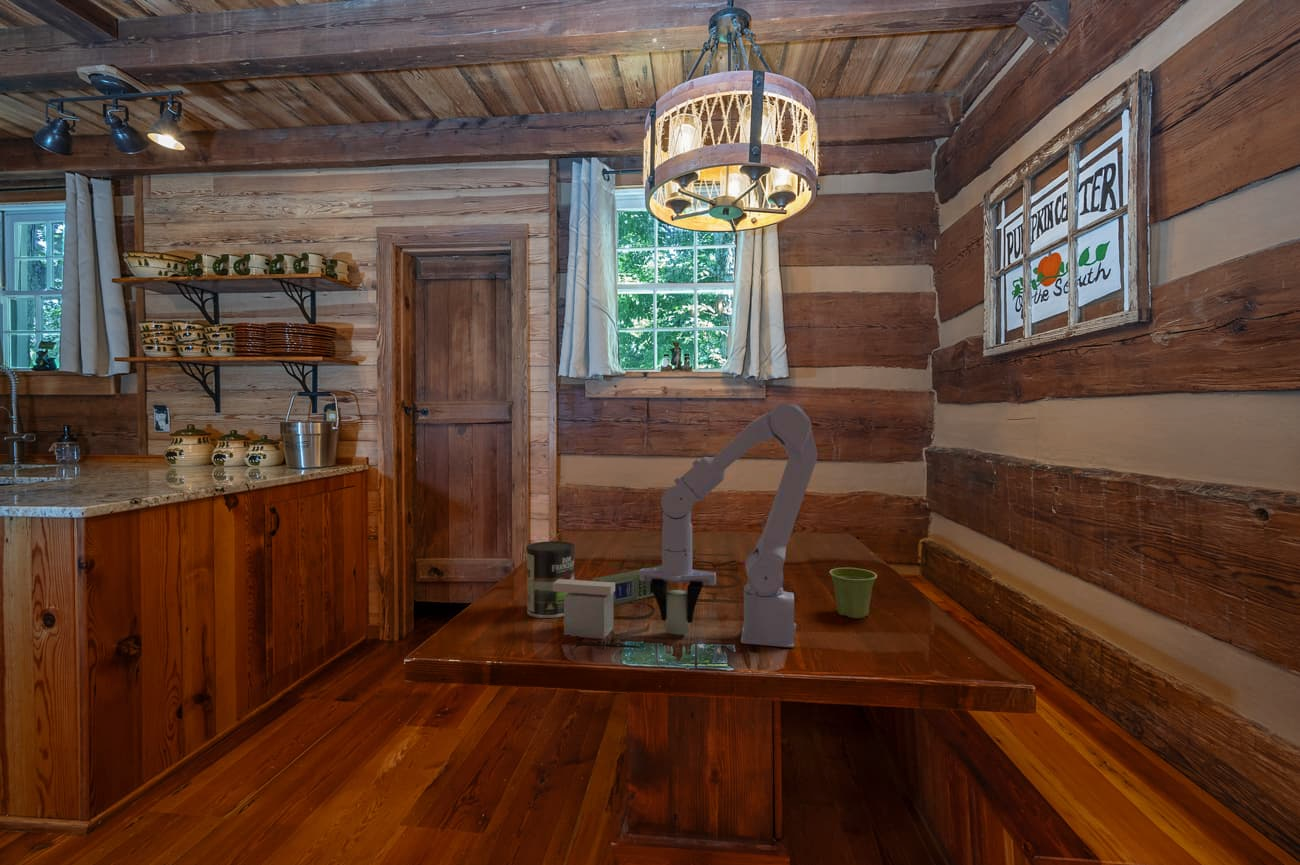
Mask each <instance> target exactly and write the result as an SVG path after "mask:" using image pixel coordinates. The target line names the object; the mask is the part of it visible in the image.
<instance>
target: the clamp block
mask: <svg viewBox="0 0 1300 865" xmlns="http://www.w3.org/2000/svg"><path fill="white" fill-rule="evenodd" d="M614 627H615V626H614V606H613V594H612V595H598V594H584V593H567V594H566V595H565V596H564V616H563V636H565V635H570V636H569V637H576V636H579V637H578V638H589V639H590V638H591V639H601V640H605V639H606V637H607V636H608V635H609V634H610V633H611V631H613V629H614Z"/></svg>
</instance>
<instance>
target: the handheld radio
mask: <svg viewBox="0 0 1300 865" xmlns="http://www.w3.org/2000/svg"><path fill="white" fill-rule="evenodd" d="M652 568H662V565H656V566H651V567H647V568H645V569H652ZM641 569H642V568H640V569H636V570H630V571H627V572H620V573H615V574H610V575H605V576H600V577H595V578H591V581H598V582H614V583H615V592H614V593H613V607H614V606H619V605H623V604H627V602H628V603H632V602H635V600H636V601H639V599H641V600H644V599H643V598H645V599H648V597H649V598H652V596H653V597H655V596H654V594H653V592H652V590H651V587H650V585H651V582H652V580H645V581H639V571H640V570H641ZM668 586H669V585H668ZM668 586H667V592H668V591H669V589H668V588H669V587H668ZM631 601H632V602H631Z"/></svg>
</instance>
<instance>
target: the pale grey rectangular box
mask: <svg viewBox="0 0 1300 865" xmlns="http://www.w3.org/2000/svg"><path fill="white" fill-rule="evenodd" d="M553 591H555V592H569V593H584V594H598V595H612V594H613V593H614V592H615V583H614V582H598V581H594V580H581V579H574V580H566V579H558V580H557V581H555V582H554V583H553Z"/></svg>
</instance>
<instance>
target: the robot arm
mask: <svg viewBox="0 0 1300 865" xmlns="http://www.w3.org/2000/svg"><path fill="white" fill-rule="evenodd" d="M774 438H775V439H777V440H778V441H779V442H780V444H781V446H782V447H783V449H784V452H785V453H786V455H787V457H788V459H787V462H786V465H785V468H784V471H783V474H782V477H781V480H780V483H779V485H778V488H777V490H776V493H775V496H774V499H773V503H772V505H771V508H770V512H769V513H768V517H767V520H766V521H765V522H766V523H765V525H764V528H763V531H762V533H761V535H760V538H759V539H758V541H757V542H756V545H755V548H754V550H752V552H750V554H748V556H747V557H746V559H745V562H744V569H745V572H746V574H747V583H746V584H745V585H744V586H743V627H742V632H741V634H740V635H741V637H740V643H741V644H745V645H758V646H769V647H779V648H781V647H782V648H792V649H793V648H794V647H795V634H796V632H797V631H796V630H797V628H796V626H797V624H796V622H795V594H794V592H790V591H789V592H788V591H785V590H784V588H783V583H784V572H783V570H784V568H783V567H784V564H785V561H786V560H785V559H786V554H787V552H786V551H787V546H788V543H789V540H790V537H791V534H792V532H793V529H794V526H795V523H796V520H797V517H798V515H799V514H798V513H799V511H800V508H801V506H802V503H803V500H804V497H805V495H806V494H805V493H806V491H807V489H808V485H809V483H810V480H811V477H812V473H813V471H814V469H815V465H816V464H817V460H818V456H819V455H818V450H817V446H816V445H817V444H816V442H815V438H814V434H813V429H812V422H811V419H810V418H809V417H808V415H807V414H806V413H805V411H804V409H803V408H802V407H801V406H799V405H798V404H796V403H792V402H784V403H781V404H778V405H775V406H773V407H772V408H770V409H769V411H768V412H766V413H764V414H762V415H760V416H759V417H757V418H756V419H754V420H753V421H751V422H749V424H748V425H747V426H745V427H744V428H743V429H742V430H741V431H740V432H739V433H738V434H737V435H736V436H735V437H734V438H733V439H732V440H731V441H729V442H728V443H727V444H726V445H725V446H724V447H723V448H722V449H721V450H720V451H718V453H717V454H716V455H715V456H713V457H709V456H703V457H702V458H701V459H700V460H699V459H698V458H696V459H695V460H694V461H693V462H692V463H691V464H692V465H693V466H692V467H691V468H689V470H687V471H686V472H685V473H684V474H683V475H682V476H680V477H676V478H675V479H674V480H673V481H674V483H675V484H673V485H671V486H669V487H668V488H666V489H665V491H664V493H663V494H662V496H661V498H660V500H661V501H660V506H661V509H662V510H663V513H662V521H663V523H662V525H661V526H662V527H661V529H662V530H661V537H662V538H661V543H662V544H661V545H662V546H661V547H662V548H661V553H662V555H661V556H662V559H661V560H662V568H652V569H645V568H643V567H642V568H640V569H641V570H640V569H639V570H640V571H639V581H645V580H652V582H651V585H650V587H651V590H652V592H653V594H654V596H653V597H654V598H655V600H656V603H657V605H658V609H659V612H660V618H661V621H665V622H666V592H667V586H669V582H670V583H671V582H672V583H673V582H674V583H689V584H688V585H687V587H686V588H687V591H686V592H688V622H689V624H690V623H693V620H694V616H695V615H694V614H695V609H696V605H697V602H698V598H699V596H700V593H701V591H702V588H703V587H704V585H705V584H706V585H709V586H715V585H716V583H717V572H712V571H706V570H705V571H703V570H699V569H693V523H692V521H691V520H692V516H691V515H692V512H691V511H692V509H693V505H694V503H695V502H700V501H702V500H703V499H704V498H705V497H706V496H707V495H708V494H709V493H711V492H712V491H713V490H714V489H715V488H716V487H717V486H719V485H720V484H721V483H722V482H723V481H725V480H724V479H725V470H726V469H727V468H728V467H730V466H731V465H733V463H734V462H736V461H737V460H738V459H739V458H741V456H743V455H744V454H745V453H746V452H748V451H749V450H750V449H751V448H753V447H754V446H755V445H756V444H757V443H761V442H766V441H770V440H774Z"/></svg>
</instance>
